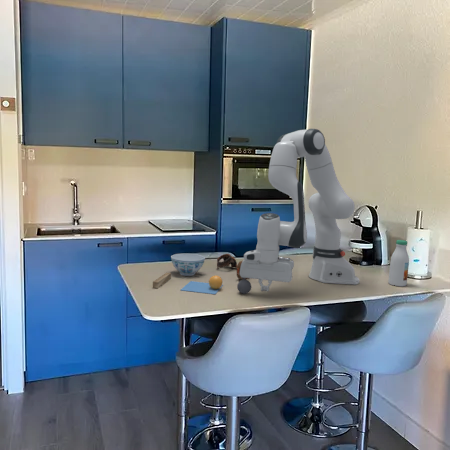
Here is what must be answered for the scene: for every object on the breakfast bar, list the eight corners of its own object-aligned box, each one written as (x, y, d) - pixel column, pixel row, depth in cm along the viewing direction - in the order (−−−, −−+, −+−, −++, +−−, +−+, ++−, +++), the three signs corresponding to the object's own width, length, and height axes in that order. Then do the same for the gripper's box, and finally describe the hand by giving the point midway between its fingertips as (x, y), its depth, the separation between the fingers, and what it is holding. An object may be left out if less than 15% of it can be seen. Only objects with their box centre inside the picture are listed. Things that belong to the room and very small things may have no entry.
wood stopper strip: (170, 278, 193) (171, 273, 192) (157, 288, 177) (157, 282, 177) (166, 278, 193) (166, 272, 193) (152, 288, 178) (152, 281, 177)
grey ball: (235, 280, 179) (241, 291, 180) (234, 287, 174) (241, 298, 175) (247, 274, 177) (254, 285, 179) (246, 281, 172) (253, 292, 174)
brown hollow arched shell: (240, 272, 213) (234, 258, 209) (222, 280, 213) (215, 266, 210) (236, 260, 224) (230, 246, 220) (219, 268, 224) (212, 254, 221)
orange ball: (217, 271, 183) (207, 280, 184) (213, 274, 177) (204, 283, 179) (226, 281, 182) (217, 290, 184) (223, 284, 177) (214, 293, 178)
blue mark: (223, 285, 187) (223, 284, 187) (215, 294, 174) (215, 293, 174) (190, 281, 190) (190, 281, 190) (180, 290, 176) (180, 289, 176)
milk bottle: (397, 287, 198) (402, 242, 196) (384, 282, 205) (388, 239, 202) (410, 286, 202) (415, 241, 199) (396, 281, 209) (401, 238, 206)
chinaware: (180, 268, 212) (181, 252, 211) (209, 272, 207) (210, 256, 206) (164, 275, 199) (164, 257, 197) (195, 280, 193) (195, 262, 192)
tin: (240, 281, 194) (242, 262, 193) (234, 280, 196) (235, 261, 195) (257, 275, 207) (258, 257, 206) (251, 274, 208) (252, 256, 207)
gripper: (294, 256, 176) (292, 291, 177) (242, 251, 180) (240, 285, 182) (293, 260, 169) (291, 295, 171) (239, 254, 174) (237, 289, 175)
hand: (264, 290), depth 177 cm, fingers closed
